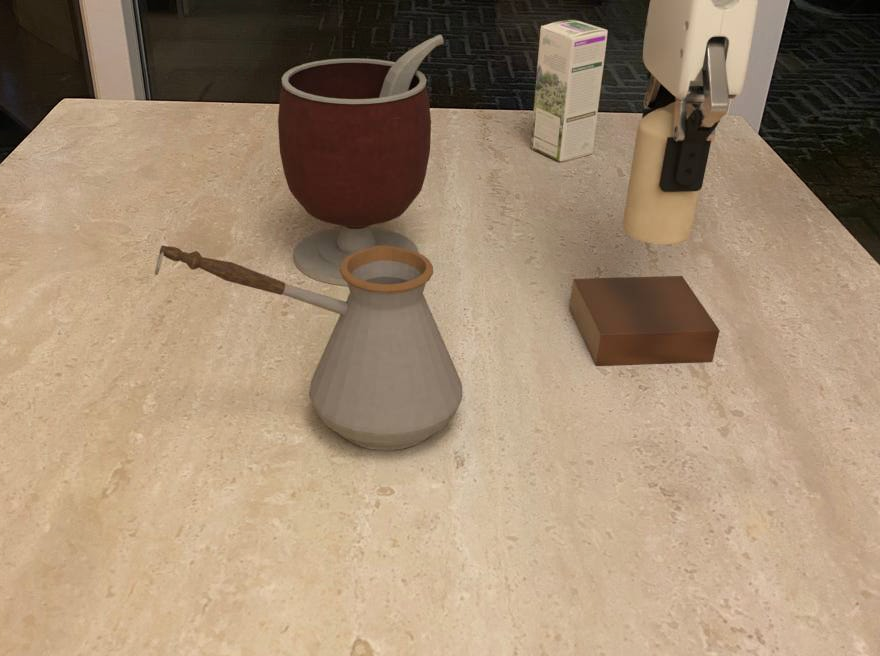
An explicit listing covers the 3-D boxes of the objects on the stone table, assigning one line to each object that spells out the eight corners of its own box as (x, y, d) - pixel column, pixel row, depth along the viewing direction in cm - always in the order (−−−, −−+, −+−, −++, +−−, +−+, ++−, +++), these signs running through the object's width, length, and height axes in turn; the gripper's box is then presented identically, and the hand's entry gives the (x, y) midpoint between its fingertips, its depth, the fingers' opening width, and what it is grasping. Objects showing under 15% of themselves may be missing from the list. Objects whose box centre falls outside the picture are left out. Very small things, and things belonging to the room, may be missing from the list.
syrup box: (594, 154, 123) (611, 28, 114) (558, 163, 120) (572, 35, 111) (563, 140, 126) (577, 17, 117) (527, 149, 124) (539, 23, 115)
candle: (639, 211, 85) (659, 90, 79) (701, 228, 82) (727, 104, 76) (610, 233, 81) (629, 108, 75) (674, 251, 79) (699, 123, 72)
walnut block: (676, 305, 92) (682, 275, 90) (712, 361, 84) (720, 330, 82) (569, 308, 91) (573, 278, 89) (595, 366, 83) (600, 334, 81)
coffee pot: (448, 377, 81) (457, 200, 72) (473, 461, 72) (486, 271, 63) (183, 391, 79) (157, 210, 70) (174, 479, 70) (143, 286, 61)
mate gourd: (314, 301, 92) (305, 74, 79) (267, 241, 101) (252, 31, 89) (465, 272, 97) (478, 54, 84) (406, 217, 107) (410, 16, 94)
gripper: (821, -63, 61) (753, 217, 72) (724, -106, 75) (679, 136, 86) (702, -63, 61) (651, 220, 72) (626, -106, 74) (594, 138, 85)
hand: (667, 172), depth 79 cm, fingers closed on candle, 5 cm apart
